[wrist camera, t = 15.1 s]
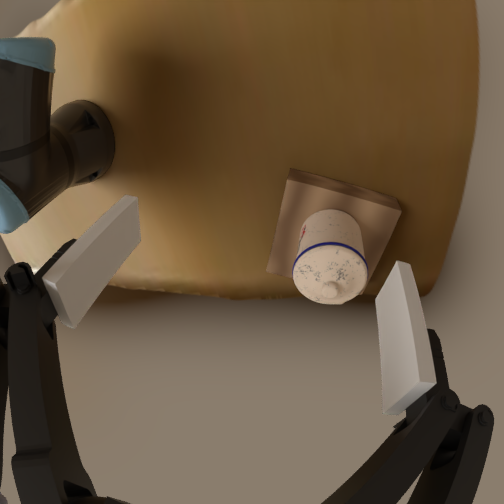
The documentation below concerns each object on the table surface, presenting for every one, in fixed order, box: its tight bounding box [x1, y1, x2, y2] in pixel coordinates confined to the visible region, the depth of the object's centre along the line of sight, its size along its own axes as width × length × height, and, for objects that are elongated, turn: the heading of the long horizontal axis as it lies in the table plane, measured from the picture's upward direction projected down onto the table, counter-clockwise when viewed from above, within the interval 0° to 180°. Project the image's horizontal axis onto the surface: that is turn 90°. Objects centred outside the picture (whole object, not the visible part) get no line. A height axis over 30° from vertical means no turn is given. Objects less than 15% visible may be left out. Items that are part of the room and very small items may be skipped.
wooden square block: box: [266, 168, 402, 295], centre depth 44 cm, size 16×16×4 cm
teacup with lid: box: [292, 209, 368, 304], centre depth 38 cm, size 12×9×12 cm
